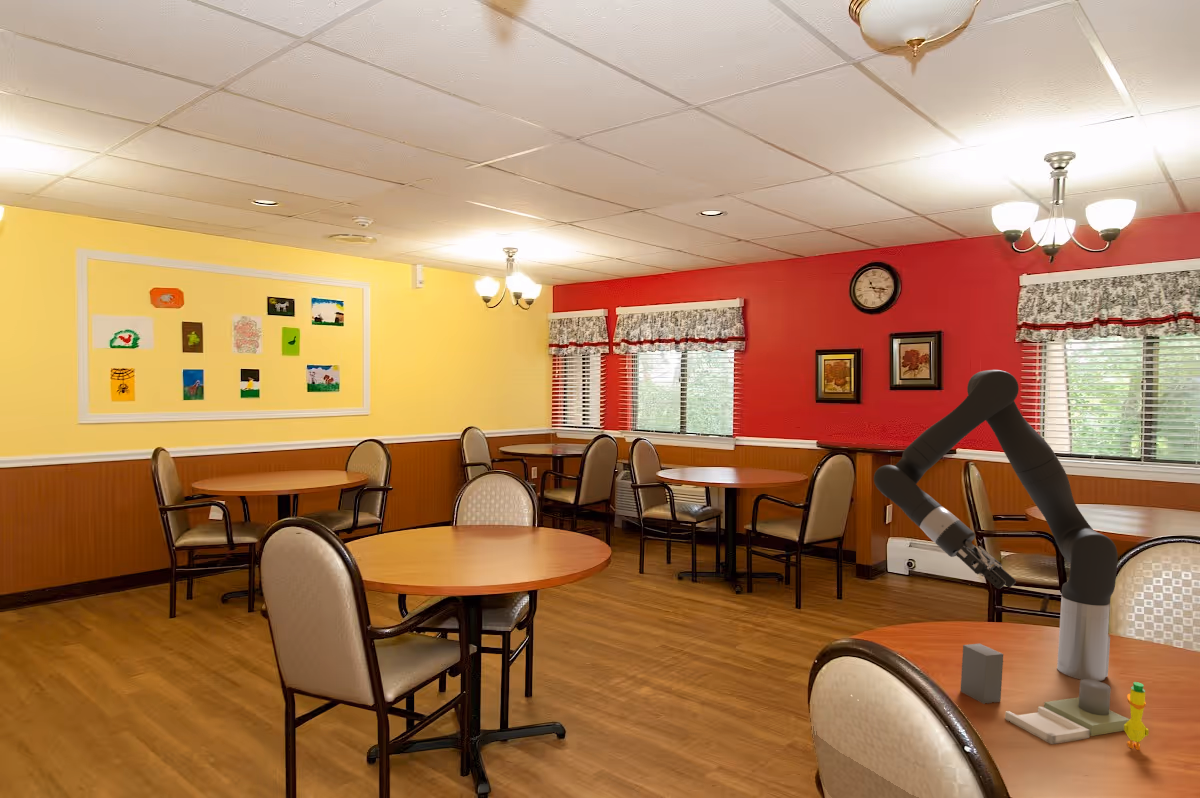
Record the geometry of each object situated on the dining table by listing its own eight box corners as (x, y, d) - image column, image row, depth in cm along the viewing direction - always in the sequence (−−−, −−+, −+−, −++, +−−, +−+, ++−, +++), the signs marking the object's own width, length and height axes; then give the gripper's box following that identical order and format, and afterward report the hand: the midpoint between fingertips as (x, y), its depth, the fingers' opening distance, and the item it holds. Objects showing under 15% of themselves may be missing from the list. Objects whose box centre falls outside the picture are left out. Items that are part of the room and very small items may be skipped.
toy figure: (1118, 736, 136) (1122, 673, 136) (1141, 741, 135) (1145, 677, 134) (1125, 751, 130) (1129, 686, 130) (1149, 757, 129) (1154, 691, 128)
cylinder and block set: (1080, 706, 149) (1082, 673, 149) (1132, 730, 139) (1134, 694, 139) (1002, 717, 142) (1004, 682, 142) (1051, 744, 132) (1053, 706, 132)
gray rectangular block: (976, 689, 155) (979, 643, 155) (1000, 701, 150) (1003, 654, 149) (960, 691, 154) (963, 645, 154) (983, 703, 148) (986, 655, 148)
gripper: (948, 518, 158) (1012, 574, 148) (967, 520, 168) (1028, 572, 159) (925, 542, 160) (986, 599, 151) (945, 543, 171) (1004, 595, 161)
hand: (1008, 585), depth 155 cm, fingers open, 8 cm apart
